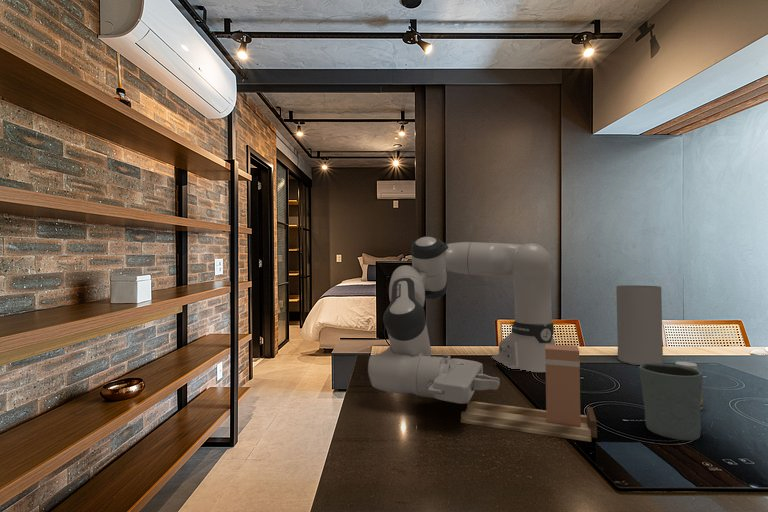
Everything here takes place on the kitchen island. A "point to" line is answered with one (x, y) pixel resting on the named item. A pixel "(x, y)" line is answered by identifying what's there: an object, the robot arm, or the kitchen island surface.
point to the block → (562, 385)
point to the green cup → (672, 400)
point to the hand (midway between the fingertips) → (498, 383)
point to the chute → (527, 420)
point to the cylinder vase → (639, 324)
